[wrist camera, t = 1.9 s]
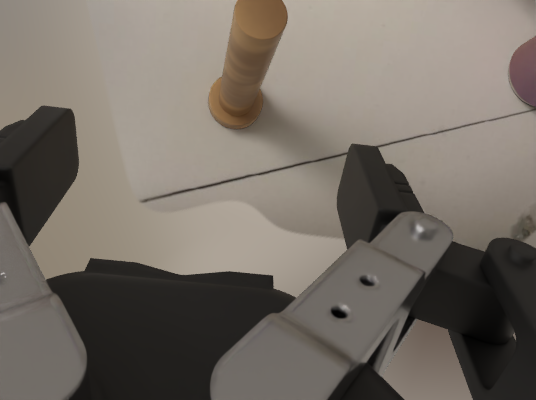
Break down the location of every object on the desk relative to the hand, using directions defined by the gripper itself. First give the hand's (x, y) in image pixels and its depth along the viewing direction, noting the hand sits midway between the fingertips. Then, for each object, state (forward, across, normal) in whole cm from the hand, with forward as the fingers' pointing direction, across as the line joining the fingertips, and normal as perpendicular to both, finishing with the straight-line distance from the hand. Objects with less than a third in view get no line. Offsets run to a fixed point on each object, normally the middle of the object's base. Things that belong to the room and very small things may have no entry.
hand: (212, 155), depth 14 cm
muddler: (+21, 0, +6) cm, 22 cm away
